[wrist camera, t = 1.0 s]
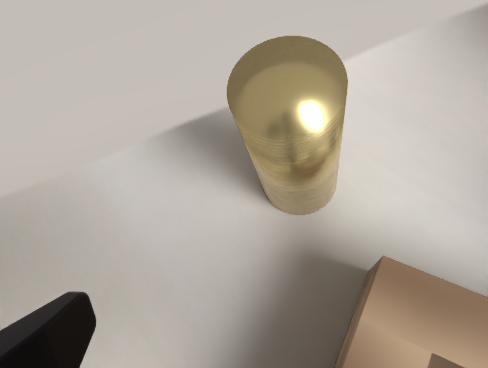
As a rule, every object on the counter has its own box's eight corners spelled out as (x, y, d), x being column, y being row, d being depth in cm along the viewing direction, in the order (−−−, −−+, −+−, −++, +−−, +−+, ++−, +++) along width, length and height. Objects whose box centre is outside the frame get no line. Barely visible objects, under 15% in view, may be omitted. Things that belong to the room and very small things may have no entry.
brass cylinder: (320, 226, 22) (320, 156, 13) (251, 198, 23) (207, 118, 14) (347, 160, 23) (365, 51, 14) (280, 137, 24) (256, 25, 15)
